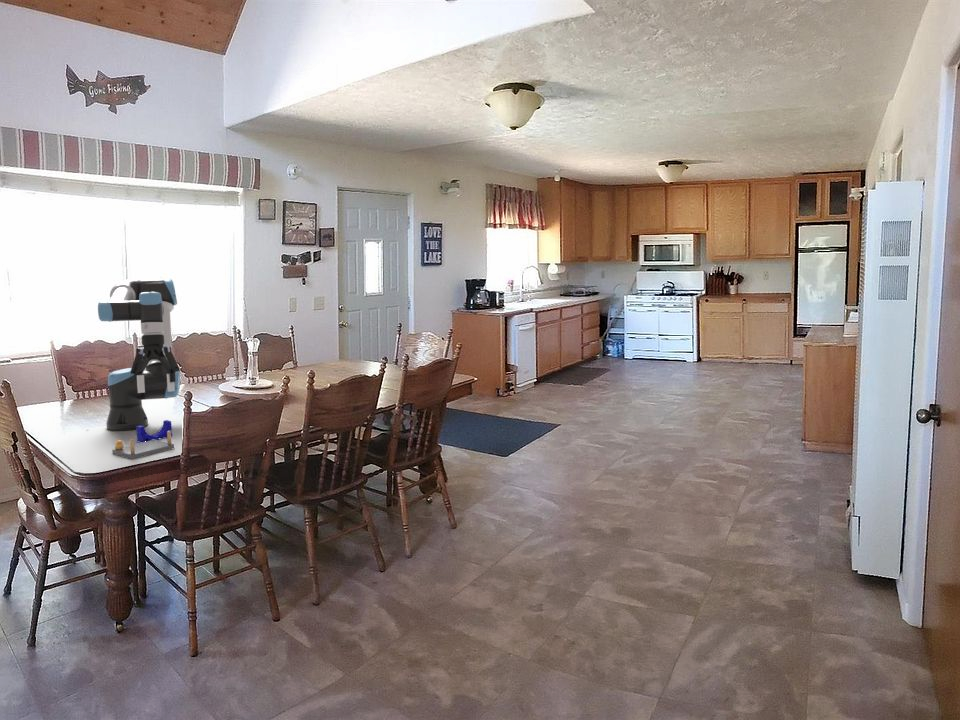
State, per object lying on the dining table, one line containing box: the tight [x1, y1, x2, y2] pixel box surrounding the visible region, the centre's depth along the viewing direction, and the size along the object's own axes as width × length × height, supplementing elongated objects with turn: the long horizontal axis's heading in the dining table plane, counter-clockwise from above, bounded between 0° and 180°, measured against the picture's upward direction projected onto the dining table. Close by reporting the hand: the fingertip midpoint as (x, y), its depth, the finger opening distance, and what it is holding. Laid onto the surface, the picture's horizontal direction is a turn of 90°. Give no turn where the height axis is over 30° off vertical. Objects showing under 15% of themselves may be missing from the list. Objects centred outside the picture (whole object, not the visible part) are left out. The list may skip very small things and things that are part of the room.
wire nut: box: [114, 439, 124, 450], centre depth 251 cm, size 2×2×3 cm
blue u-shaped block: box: [135, 419, 173, 443], centre depth 270 cm, size 12×4×6 cm, turn 142°
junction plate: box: [111, 431, 175, 460], centre depth 254 cm, size 12×16×6 cm
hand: (156, 392), depth 262 cm, fingers open, 13 cm apart
